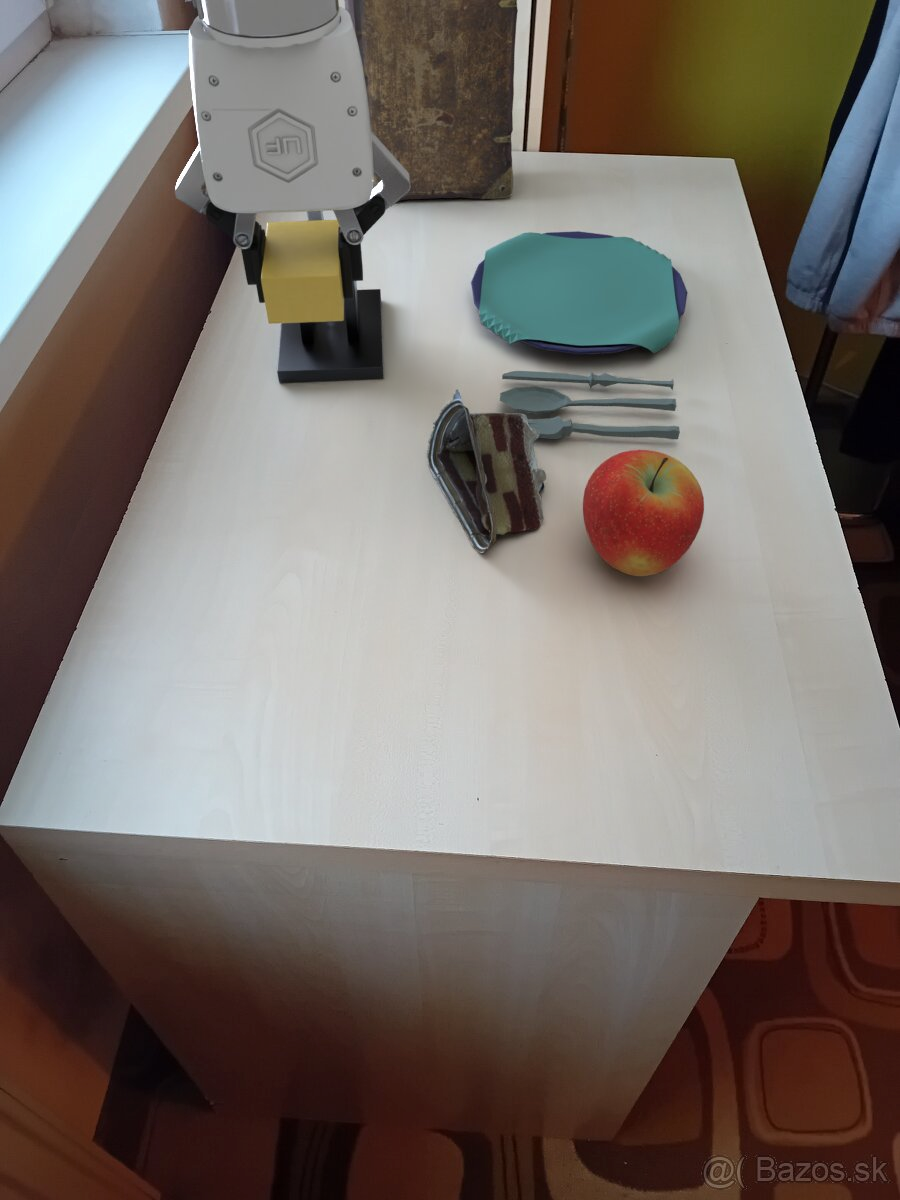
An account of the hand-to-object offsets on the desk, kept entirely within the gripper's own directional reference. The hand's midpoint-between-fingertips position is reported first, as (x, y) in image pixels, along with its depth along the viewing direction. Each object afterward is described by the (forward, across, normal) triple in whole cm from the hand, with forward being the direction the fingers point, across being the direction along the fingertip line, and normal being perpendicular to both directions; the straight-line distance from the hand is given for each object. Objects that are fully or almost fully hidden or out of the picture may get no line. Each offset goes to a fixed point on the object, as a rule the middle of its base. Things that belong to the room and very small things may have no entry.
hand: (307, 287), depth 66 cm
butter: (0, 0, 0) cm, 0 cm away
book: (+15, +11, +42) cm, 46 cm away
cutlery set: (+15, +22, +14) cm, 30 cm away
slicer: (+15, 0, +15) cm, 21 cm away
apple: (+15, +22, -13) cm, 30 cm away
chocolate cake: (+15, +13, -6) cm, 21 cm away
